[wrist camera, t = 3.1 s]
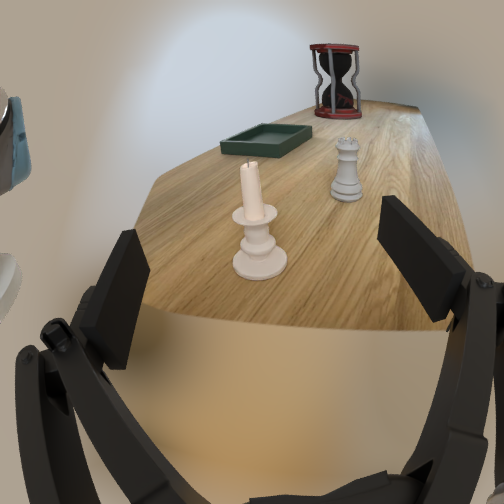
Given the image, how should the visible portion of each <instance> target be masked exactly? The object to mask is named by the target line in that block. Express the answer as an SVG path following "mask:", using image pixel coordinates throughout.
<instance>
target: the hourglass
mask: <svg viewBox="0 0 504 504" xmlns="http://www.w3.org/2000/svg"><path fill="white" fill-rule="evenodd" d="M310 50H312V56H313V68H314V71H315V73H316V74H317V75H318V78H319V82H318V85H317V86H316V88H315V96H316V109H315V110H314V111H315V115H316V116H319V117H324V118H332V119H355V118H360V117H362V112H361V102H360V90H359V88H358V87H357V86H356V82H355V79H356V76H357V75H358V73H359V56H358V51H359V46H356V45H347V44H330V43H328V44H314V45H310ZM315 50H317V52H318V53H321V54H320V55H319V61H320V65H321V67H322V68H323V69H324V71H325V72H326V73H327V74H328V75H329V76H331V84H330V85H329V86H328V87H327V88H326V89H325V91H324V92H323V95H322V104H323V106H322V107H321V108H319V92H318V90H319V87H320V86H321V85H322V82H323V78H322V76H321V74H320V73H319V72H318V70H317V64H316V53H315ZM353 51H355V63H356V71H355V74H354V75H353V76H352V78H351V82H352V85H353V87H354V88H355V89H356V92H357V110H356V109H355V108H354V107H353V105H354V102H353V96H352V94H351V92H350V90H349V89H348V88H347V87H346V86H345V85H344V84H343V83H342V77H343V76H344V75H345V74H346V73H347V72H348V71H349V69H350V67H351V62H352V59H351V55H350V54H352V52H353Z"/></svg>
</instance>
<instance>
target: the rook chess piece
mask: <svg viewBox="0 0 504 504" xmlns="http://www.w3.org/2000/svg"><path fill="white" fill-rule="evenodd" d="M335 147H336V148H337V149H338V151H339V155H338V156H337V158H338V170H337V175H336V177H335V178H334V179H335V180H334V181H333V182H332V184H331V187H332V190H331V191H330V192H331V195H332V196H333V197H334V198H335V199H336V200H339V201H342V202H354V201H357V200H359V199H360V198H361V197H362V192H361V191H362V185H361V183H360V182H359V181H360V180H359V178H358V175H357V160H358V157H357V152H358V150H359V149H360V146H359V145H358V140H357V139H356V138H353V141H351V137H347V140H345V137H341V138H338V143H337V144H336V145H335Z"/></svg>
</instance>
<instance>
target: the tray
mask: <svg viewBox="0 0 504 504" xmlns="http://www.w3.org/2000/svg"><path fill="white" fill-rule="evenodd" d="M310 138H312V126H307V125H290V124H263V123H261V124H259V125H257V126H254V127H252V128H250V129H247V130H245V131H243V132H240V133H238V134H235V135H233V136H231V137H229V138H226V139H224V140H222V141H220V146H221V153H222V154H234V155H248V156H261V157H272V158H281V157H282V156H284V155H285V154H287V153H288V152H290V151H291V150H293V149H294V148H296V147H298V146H299V145H301V144H302V143H304V142H305V141H307V140H308V139H310Z"/></svg>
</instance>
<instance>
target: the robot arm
mask: <svg viewBox="0 0 504 504" xmlns="http://www.w3.org/2000/svg"><path fill="white" fill-rule="evenodd" d="M30 172H31V160H30V155H29V150H28V144H27V139H26V134H25V126H24V119H23V113H22V105H21V100H20V98H19V97H10V98H9V99H8V97H7V94H6V92H5V91H4V89H3V88H1V87H0V195H2V194H4V193H6V192H8V191H10V190H12V189H13V187H14V186H16V185H17V184H19V183H21V182H22V181H23V180H25V179H27V178H28V176H29V175H30ZM377 240H378V241H379V242H380V244H381V245H382V246H383V248H384V249H385V251H386V252H387V253H388V255H389V256H390V258H391V259H392V260H393V262H394V263H395V265H396V266H397V268H398V269H399V271H400V272H401V273H402V275H403V276H404V278H405V279H406V281H407V282H408V284H409V285H410V287H411V288H412V290H413V291H414V293H415V295H416V296H417V298H418V299H419V301H420V302H421V304H422V306H423V307H424V309H425V310H426V312H427V314H428V315H429V317H430V319H431V320H432V322H433V323H434V322H437V321H440V320H443V319H446V317H447V315H448V313H449V311H450V309H451V310H452V312H453V313H454V316H453V318H452V320H451V322H450V324H449V326H448V328H447V330H446V332H448V331H449V329H450V332H449V337H448V343H447V348H446V352H445V356H444V361H443V365H442V369H441V374H440V377H439V381H438V385H437V388H436V391H435V395H434V398H433V401H432V405H431V408H430V411H429V414H428V417H427V420H426V423H425V425H424V428H423V431H422V433H421V436H420V439H419V441H418V444H417V446H416V449H415V451H414V453H413V454H412V456H411V458H410V459H409V460H408V462H407V463H406V465H405V467H404V468H403V470H402V472H401V474H400V475H398V474H387V471H386V470H385V471H382V472H379V473H376V474H373V475H370V476H367V477H364V478H360V479H356V480H354V481H352V482H350V483H348V484H346V485H344V486H342V487H340V488H338V489H336V490H334V491H332V492H330V493H328V494H326V495H323V496H299V495H298V496H297V495H277V496H268V497H258V498H250V499H249V500H250V502H247V503H244V504H470V502H471V499H472V496H473V493H474V491H475V488H476V485H477V482H478V480H479V476H480V473H481V470H482V467H483V464H484V460H485V457H486V453H487V448H488V440H487V439H486V438H485V437H484V436H483V432H484V426H485V422H486V417H487V412H488V406H489V401H490V394H491V387H492V381H493V377H494V387H495V404H496V450H495V470H494V472H495V490H494V492H493V494H491V495H490V496H489V497H488V499H487V502H486V504H504V283H497V282H494V281H493V279H492V278H491V277H489V276H488V275H487V274H485V273H481V272H474V270H473V269H472V268H471V267H470V266H469V265H468V263H467V262H466V261H465V260H464V259H463V258H462V257H461V256H459V253H458V252H457V251H456V250H454V248H453V247H452V246H451V245H450V244H449V242H447V241H445V240H444V239H442V238H441V237H436V236H435V235H434V234H433V233H432V232H431V231H430V230H429V229H428V228H427V227H426V226H425V225H424V224H423V222H422V221H421V220H420V219H419V218H418V217H417V216H416V215H414V214H413V213H412V212H411V211H410V210H409V209H408V208H407V207H406V206H405V205H404V204H403V203H402V202H401V201H400V200H399V199H398V198H397V197H396V196H395V195H390V196H382V205H381V213H380V222H379V229H378V236H377ZM149 273H150V268H149V265H148V263H147V260H146V257H145V255H144V252H143V249H142V247H141V244H140V241H139V238H138V235H137V232H136V230H135V229H131V230H126V231H122V233H121V235H120V237H119V239H118V241H117V243H116V244H115V246H114V248H113V250H112V252H111V255H110V257H109V259H108V261H107V263H106V265H105V267H104V269H103V271H102V273H101V275H100V278H99V280H98V282H97V284H96V286H90V287H89V289H88V290H87V291H86V292H85V293H84V294H83V296H82V299H81V301H80V304H79V305H78V308H77V311H76V312H75V315H74V317H73V319H72V322H71V324H70V326H69V325H68V324H67V322H66V321H65V320H64V319H62V318H55V319H53V320H51V321H49V322H48V323H47V324H46V325H45V326H44V328H43V329H42V331H41V334H40V339H41V340H42V341H43V343H44V344H45V345H46V346H47V348H48V349H47V350H44V351H41V352H39V350H38V349H37V348H36V347H35V346H34V345H28V346H26V347H24V348H23V349H22V350H21V351H20V352H19V353H18V356H17V358H16V366H15V367H16V368H15V400H16V401H15V402H16V420H17V433H18V442H19V450H20V457H21V463H22V469H23V475H24V480H25V485H26V489H27V494H28V498H29V502H30V504H101V503H100V500H99V498H98V495H97V492H96V489H95V486H94V484H93V481H92V478H91V475H90V471H89V469H88V465H87V462H86V458H85V455H84V451H83V448H82V444H81V440H80V436H79V432H78V427H77V423H76V418H75V414H74V409H75V411H76V413H77V415H78V417H79V419H80V421H81V423H82V425H83V427H84V429H85V431H86V433H87V435H88V436H89V438H90V440H91V442H92V444H93V445H94V447H95V449H96V451H97V452H98V454H99V456H100V457H101V459H102V461H103V462H104V464H105V466H106V467H107V469H108V470H109V472H110V473H111V475H112V476H113V478H114V479H115V481H116V482H117V484H118V485H119V487H120V488H121V490H122V491H123V492H124V494H125V495H126V497H127V498H128V499H129V501H130V503H131V504H211V503H210V502H208V501H207V500H206V499H205V498H204V497H202V496H201V495H200V494H198V493H197V492H196V491H195V490H194V489H193V488H192V487H191V486H190V485H189V484H188V482H186V480H185V479H184V478H183V477H182V476H181V475H180V474H179V473H178V472H177V470H175V468H174V467H173V466H172V465H171V464H170V463H169V461H168V460H167V459H166V458H165V457H164V455H163V454H162V453H161V452H160V451H159V449H158V448H157V447H156V446H155V444H154V443H153V442H152V441H151V439H150V438H149V437H148V435H147V434H146V433H145V432H144V430H143V429H142V427H141V426H140V425H139V423H138V422H137V421H136V419H135V418H134V417H133V415H132V414H131V412H130V411H129V409H128V408H127V407H126V405H125V403H124V402H123V400H122V399H121V397H120V396H119V395H118V393H117V391H116V390H115V388H114V387H113V385H112V383H111V382H110V380H109V378H108V377H107V376H106V374H105V372H104V371H103V370H102V367H103V364H104V362H105V364H106V365H107V366H108V367H109V369H111V370H114V369H115V370H125V369H126V365H127V360H128V356H129V351H130V347H131V342H132V338H133V334H134V330H135V325H136V321H137V317H138V314H139V310H140V305H141V302H142V298H143V295H144V291H145V287H146V284H147V280H148V277H149ZM73 407H74V409H73Z"/></svg>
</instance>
